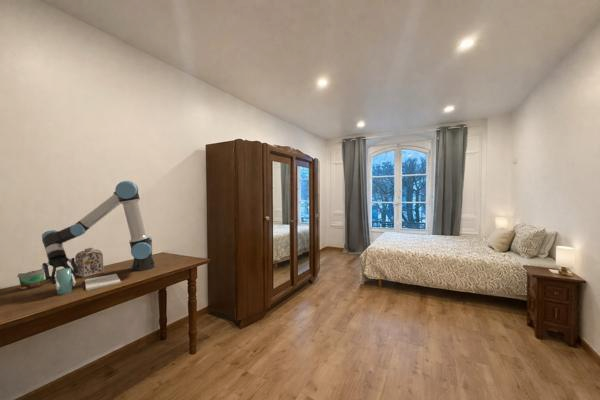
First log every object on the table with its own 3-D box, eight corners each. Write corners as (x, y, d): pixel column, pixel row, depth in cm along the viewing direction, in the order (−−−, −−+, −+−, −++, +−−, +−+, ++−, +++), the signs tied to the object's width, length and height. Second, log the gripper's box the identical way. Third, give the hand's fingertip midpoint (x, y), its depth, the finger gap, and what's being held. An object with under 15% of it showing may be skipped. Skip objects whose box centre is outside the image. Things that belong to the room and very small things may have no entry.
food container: (25, 291, 138) (25, 274, 138) (17, 290, 139) (17, 273, 139) (51, 283, 150) (51, 267, 150) (44, 283, 151) (43, 267, 151)
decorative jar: (104, 272, 171) (103, 247, 170) (83, 277, 161) (82, 250, 160) (95, 270, 176) (94, 245, 176) (75, 275, 166) (74, 249, 166)
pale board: (116, 275, 164) (116, 273, 164) (120, 283, 150) (120, 281, 150) (84, 281, 153) (84, 279, 153) (86, 290, 139) (86, 288, 139)
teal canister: (71, 289, 140) (71, 267, 140) (71, 292, 136) (71, 269, 136) (57, 292, 136) (56, 269, 136) (56, 295, 132) (55, 272, 132)
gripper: (75, 253, 152) (86, 284, 144) (31, 261, 136) (40, 296, 128) (78, 246, 149) (89, 277, 141) (33, 252, 133) (43, 288, 125)
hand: (66, 286), depth 134 cm, fingers closed on teal canister, 6 cm apart
